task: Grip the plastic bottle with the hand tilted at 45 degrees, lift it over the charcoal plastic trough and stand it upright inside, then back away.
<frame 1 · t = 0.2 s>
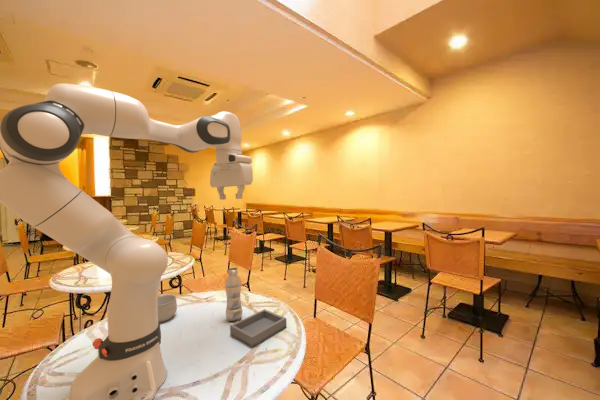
hand: (230, 199, 90), 48 cm above the table, tool pointing down, fingers open, 8 cm apart
teacup: (163, 317, 105), on the table
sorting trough: (259, 331, 92), on the table
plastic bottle: (234, 319, 101), on the table
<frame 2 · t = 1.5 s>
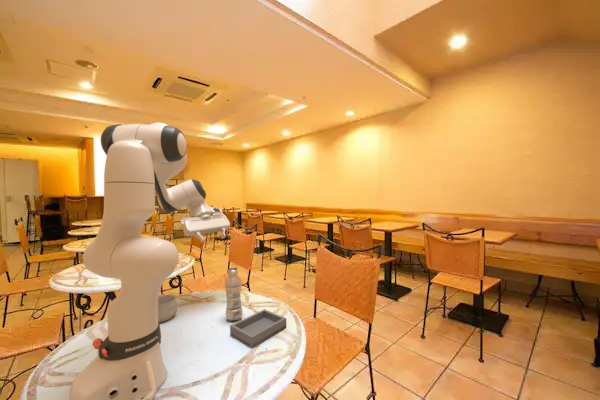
hand: (214, 239, 110), 31 cm above the table, tool tilted 45°, fingers open, 8 cm apart
nothing on the table moved.
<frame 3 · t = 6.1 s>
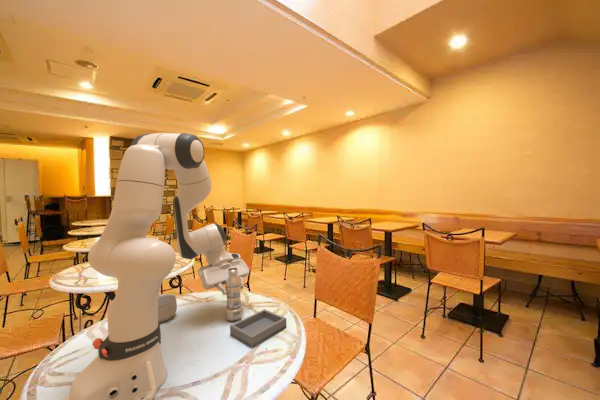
hand: (234, 290, 101), 11 cm above the table, tool tilted 45°, fingers closed on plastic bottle, 6 cm apart
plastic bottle: (234, 319, 101), on the table, touching gripper
everything else where it was.
when the fingers open (14 cm above the table, at t = 13.0 s): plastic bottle drops 1 cm, resting on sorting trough.
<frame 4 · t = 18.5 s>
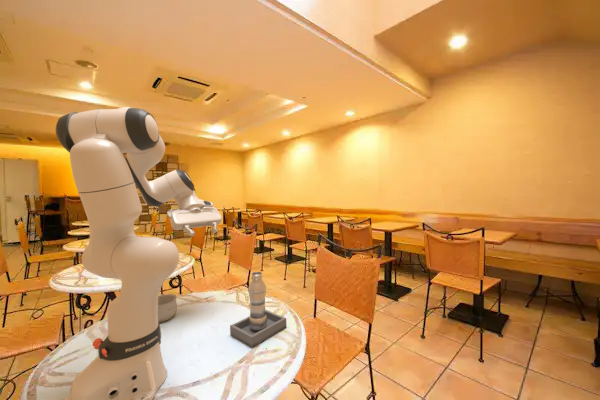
hand: (204, 233, 101), 34 cm above the table, tool tilted 45°, fingers open, 8 cm apart
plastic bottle: (258, 328, 92), point 1 cm above the table, touching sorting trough
everything else where it was.
at the end: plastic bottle inside the target area on the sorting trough (0.3 cm from its centre), point 0.8 cm above the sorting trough's base; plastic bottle tilted 0°; the gripper is holding nothing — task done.
